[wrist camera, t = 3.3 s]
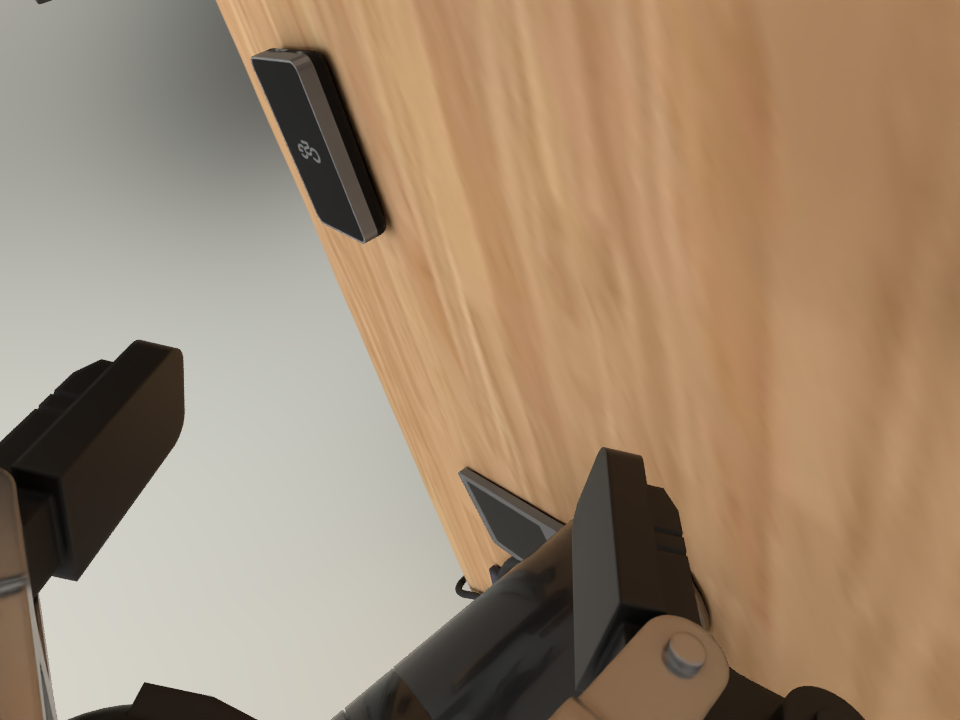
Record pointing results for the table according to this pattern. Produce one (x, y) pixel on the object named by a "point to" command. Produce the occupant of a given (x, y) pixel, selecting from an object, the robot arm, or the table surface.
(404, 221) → the table surface
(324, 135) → the external hard drive
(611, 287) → the table surface
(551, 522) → the smartphone
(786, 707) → the robot arm
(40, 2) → the trash can
